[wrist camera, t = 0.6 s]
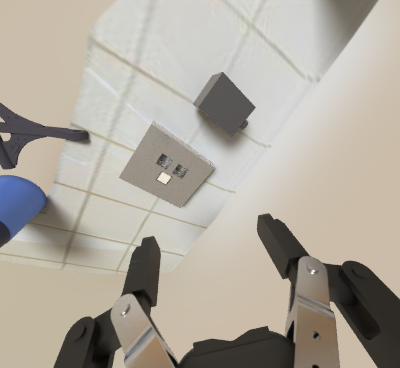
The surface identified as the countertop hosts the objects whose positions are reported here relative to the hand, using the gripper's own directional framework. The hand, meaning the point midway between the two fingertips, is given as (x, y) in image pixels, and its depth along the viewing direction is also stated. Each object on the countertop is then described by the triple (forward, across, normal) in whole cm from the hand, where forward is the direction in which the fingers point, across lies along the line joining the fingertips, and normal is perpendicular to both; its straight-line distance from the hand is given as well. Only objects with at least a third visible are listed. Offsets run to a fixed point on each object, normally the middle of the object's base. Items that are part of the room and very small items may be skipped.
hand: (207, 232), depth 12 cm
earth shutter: (+20, +6, +5) cm, 22 cm away
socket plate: (+23, +5, +4) cm, 24 cm away
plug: (+23, -6, -6) cm, 25 cm away
